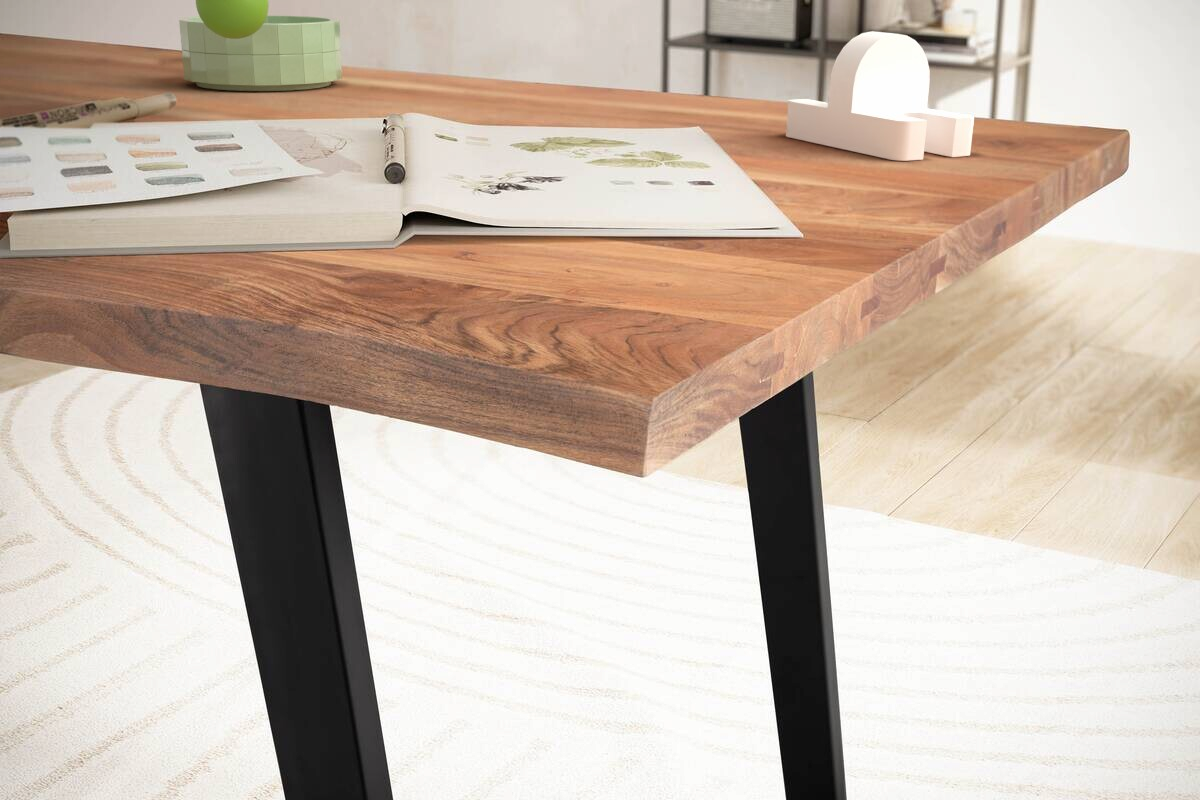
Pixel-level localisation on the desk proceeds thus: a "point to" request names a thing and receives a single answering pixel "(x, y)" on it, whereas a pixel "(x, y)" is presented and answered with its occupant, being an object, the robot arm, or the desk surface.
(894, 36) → the slotted bracket
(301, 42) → the green round bowl
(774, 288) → the desk surface
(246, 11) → the snail figurine
